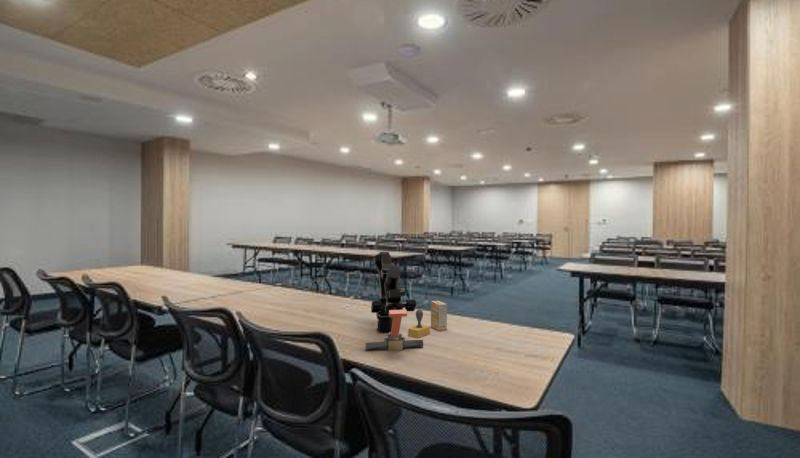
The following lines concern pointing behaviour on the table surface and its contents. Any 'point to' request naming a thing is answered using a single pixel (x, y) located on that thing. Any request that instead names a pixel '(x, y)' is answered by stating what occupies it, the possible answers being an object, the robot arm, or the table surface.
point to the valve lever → (396, 321)
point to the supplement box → (439, 315)
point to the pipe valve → (394, 344)
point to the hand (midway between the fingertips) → (395, 324)
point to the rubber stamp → (419, 327)
